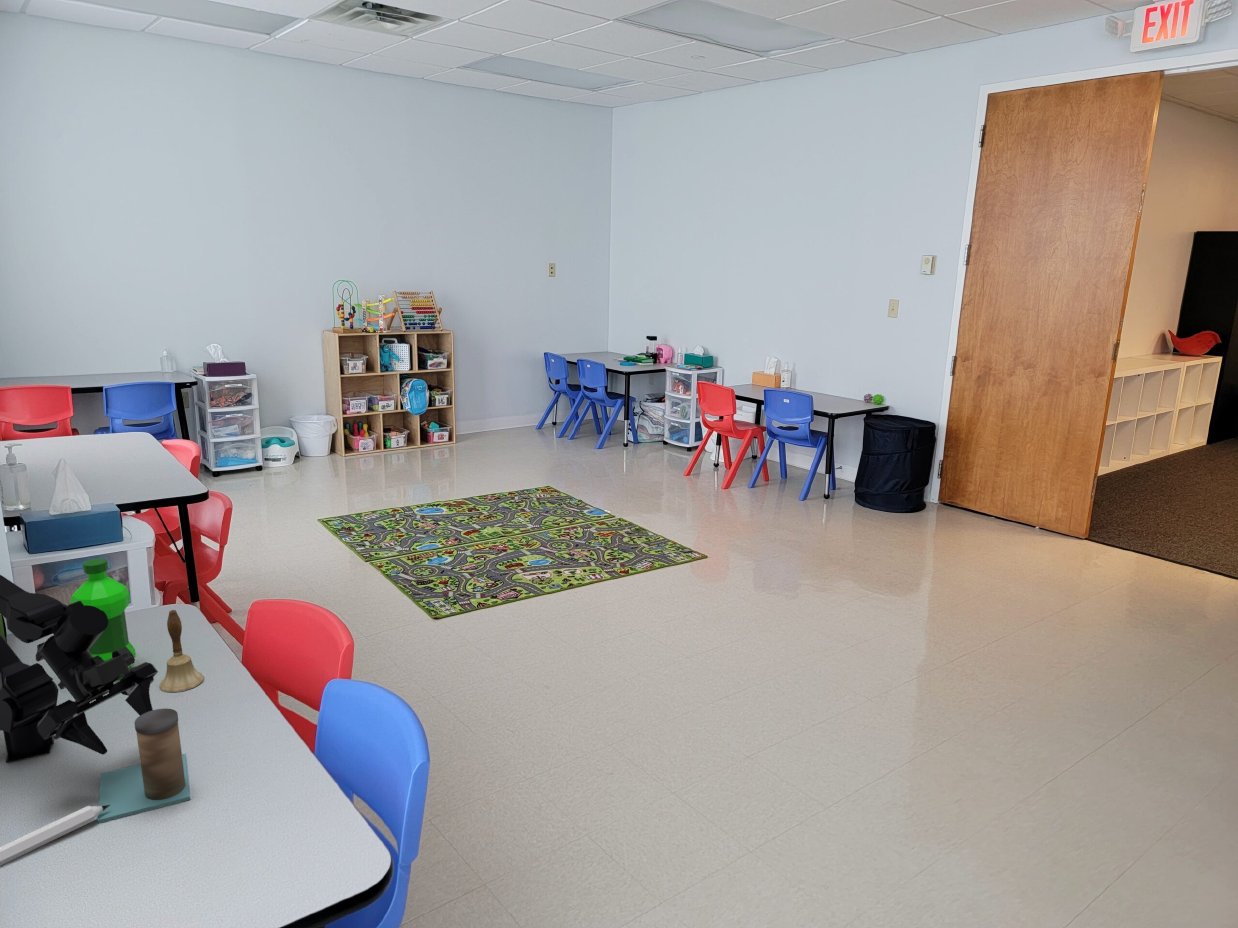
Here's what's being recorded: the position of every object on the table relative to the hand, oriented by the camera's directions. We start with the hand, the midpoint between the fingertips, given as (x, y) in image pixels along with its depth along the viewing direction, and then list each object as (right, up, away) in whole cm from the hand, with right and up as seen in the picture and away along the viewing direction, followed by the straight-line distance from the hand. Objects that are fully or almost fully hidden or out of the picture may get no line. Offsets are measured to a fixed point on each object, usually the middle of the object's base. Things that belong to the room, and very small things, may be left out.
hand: (130, 738), depth 143 cm
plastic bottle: (-26, +1, +39) cm, 47 cm away
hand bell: (-9, 0, +36) cm, 37 cm away
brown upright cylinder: (+6, -8, 0) cm, 10 cm away
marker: (-5, -11, -12) cm, 17 cm away
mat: (+2, -8, +1) cm, 9 cm away
